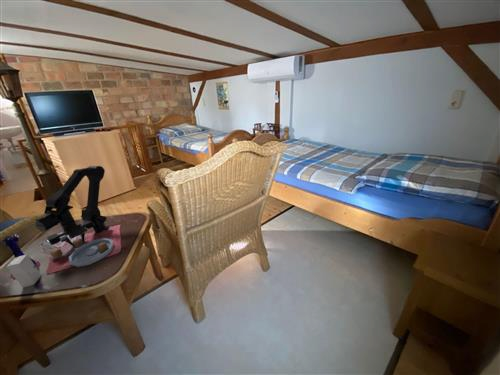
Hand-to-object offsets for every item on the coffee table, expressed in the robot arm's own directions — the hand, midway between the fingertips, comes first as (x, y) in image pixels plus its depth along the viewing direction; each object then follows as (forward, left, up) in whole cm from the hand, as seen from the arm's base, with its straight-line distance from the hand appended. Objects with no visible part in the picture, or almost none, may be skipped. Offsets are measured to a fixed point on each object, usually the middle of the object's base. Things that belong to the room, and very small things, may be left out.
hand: (79, 244), depth 111 cm
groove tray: (+10, +11, -1) cm, 15 cm away
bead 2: (0, 0, -1) cm, 1 cm away
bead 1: (+6, -7, -1) cm, 9 cm away
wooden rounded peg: (+10, +16, 0) cm, 19 cm away
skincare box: (+21, -9, -1) cm, 23 cm away
